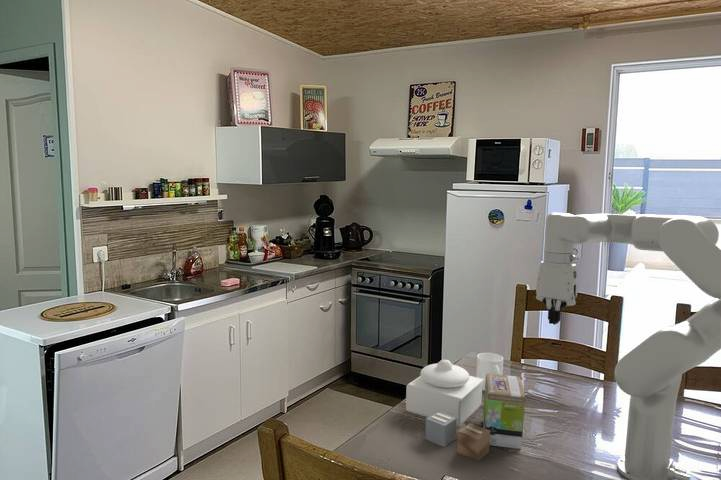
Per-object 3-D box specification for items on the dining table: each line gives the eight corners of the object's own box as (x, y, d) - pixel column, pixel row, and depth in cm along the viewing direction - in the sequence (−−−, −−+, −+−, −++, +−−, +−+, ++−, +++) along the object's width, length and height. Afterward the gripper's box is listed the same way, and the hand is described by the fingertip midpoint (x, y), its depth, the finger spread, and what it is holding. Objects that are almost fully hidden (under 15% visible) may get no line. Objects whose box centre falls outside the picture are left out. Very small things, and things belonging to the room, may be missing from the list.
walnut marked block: (489, 452, 137) (490, 429, 137) (477, 461, 133) (478, 438, 132) (468, 444, 141) (469, 422, 141) (457, 452, 137) (458, 430, 136)
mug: (486, 397, 171) (488, 365, 169) (471, 383, 182) (473, 353, 181) (511, 395, 172) (512, 364, 171) (494, 381, 184) (496, 352, 183)
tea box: (523, 450, 139) (526, 396, 137) (483, 445, 141) (486, 392, 139) (517, 423, 153) (520, 375, 151) (482, 420, 155) (484, 371, 153)
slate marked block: (456, 438, 144) (456, 417, 143) (444, 447, 140) (444, 424, 139) (437, 431, 148) (438, 410, 147) (425, 439, 144) (426, 417, 143)
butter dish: (431, 391, 175) (432, 345, 173) (482, 405, 165) (485, 357, 163) (405, 411, 160) (406, 361, 158) (460, 428, 150) (463, 374, 148)
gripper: (591, 260, 142) (586, 325, 144) (537, 253, 152) (533, 315, 154) (581, 263, 137) (576, 331, 139) (526, 256, 146) (522, 320, 149)
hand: (553, 323), depth 147 cm, fingers closed
